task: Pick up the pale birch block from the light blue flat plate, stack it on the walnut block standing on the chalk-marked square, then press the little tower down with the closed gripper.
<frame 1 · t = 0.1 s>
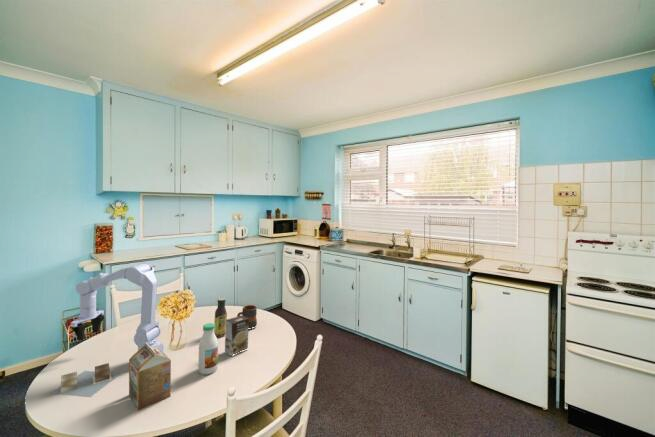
hand: (88, 335, 132), 10 cm above the table, tool pointing down, fingers open, 7 cm apart
walnut block: (102, 378, 117), point 1 cm above the table, touching light blue flat plate
birch block: (69, 387, 111), resting on light blue flat plate
milk carton: (149, 397, 109), on the table
sauce bottle: (220, 335, 159), on the table
milk bottle: (208, 370, 127), on the table
light blue flat plate: (87, 384, 114), on the table
mug: (246, 328, 169), on the table
coffee box: (236, 351, 143), on the table
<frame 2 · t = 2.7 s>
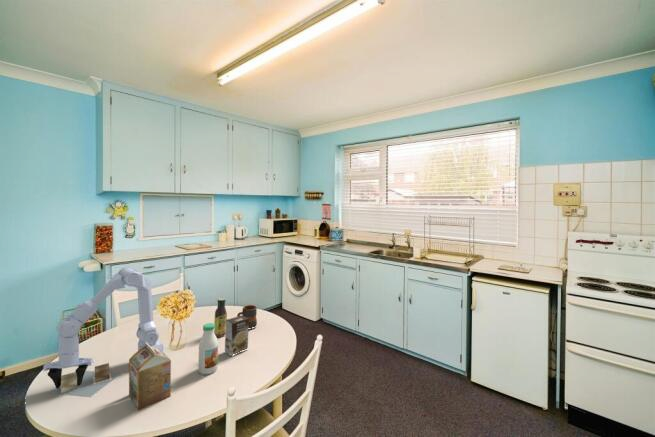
hand: (69, 385, 111), 1 cm above the table, tool pointing down, fingers closed on birch block, 6 cm apart
birch block: (69, 387, 111), resting on light blue flat plate, touching gripper
everything else where it was.
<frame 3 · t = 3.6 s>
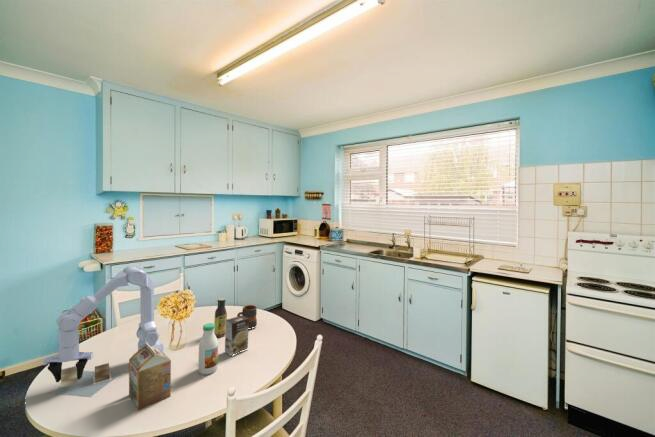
hand: (69, 379, 111), 4 cm above the table, tool pointing down, fingers closed on birch block, 6 cm apart
birch block: (69, 381, 111), point 3 cm above the table, touching gripper
everything else where it was.
when the fingers open (8 cm above the table, at t = 5.2 s): birch block stays where it is, resting on walnut block.
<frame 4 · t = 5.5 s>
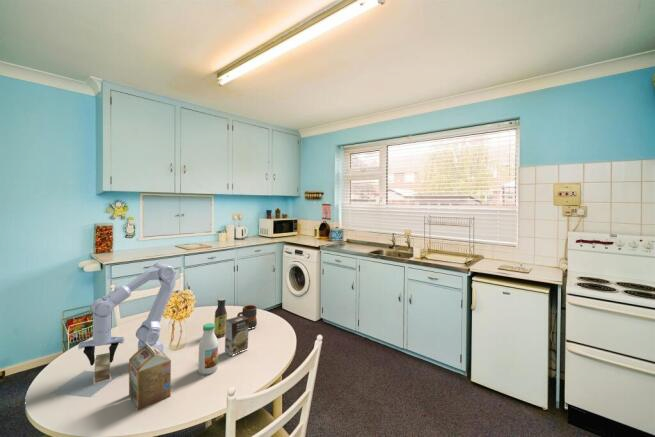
hand: (102, 362, 117), 7 cm above the table, tool pointing down, fingers open, 6 cm apart
walnut block: (102, 378, 117), point 1 cm above the table, touching birch block, light blue flat plate
birch block: (102, 367, 117), point 5 cm above the table, touching gripper, walnut block
everything else where it was.
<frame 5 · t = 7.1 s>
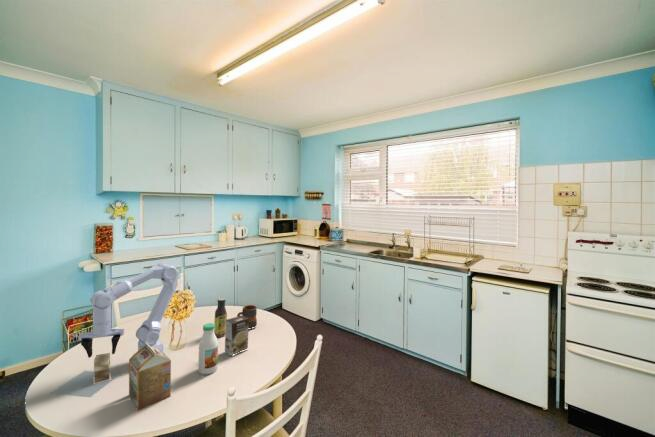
hand: (102, 354, 117), 10 cm above the table, tool pointing down, fingers open, 7 cm apart
birch block: (102, 367, 117), point 5 cm above the table, touching walnut block
everything else where it was.
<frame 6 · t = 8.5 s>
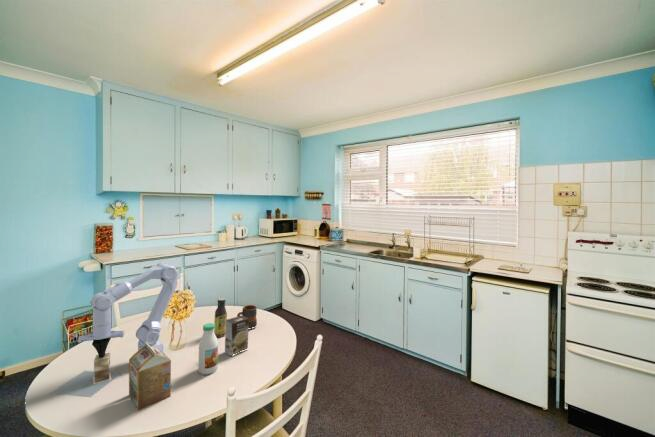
hand: (102, 356, 117), 9 cm above the table, tool pointing down, fingers closed, pressing on birch block
birch block: (102, 367, 117), point 5 cm above the table, touching gripper, walnut block
everything else where it was.
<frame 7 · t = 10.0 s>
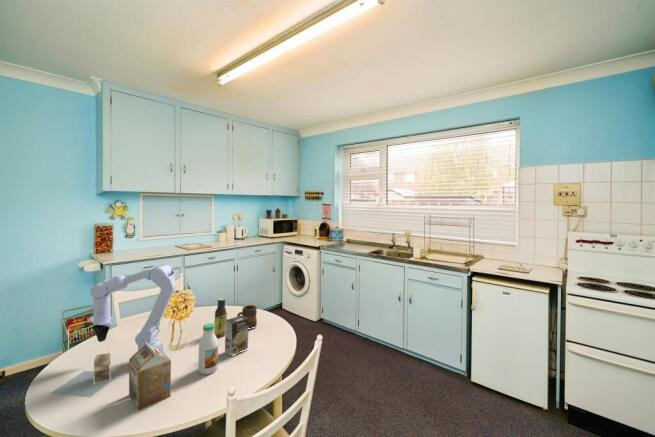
hand: (101, 340, 127), 10 cm above the table, tool pointing down, fingers closed
birch block: (102, 367, 117), point 5 cm above the table, touching walnut block
everything else where it was.
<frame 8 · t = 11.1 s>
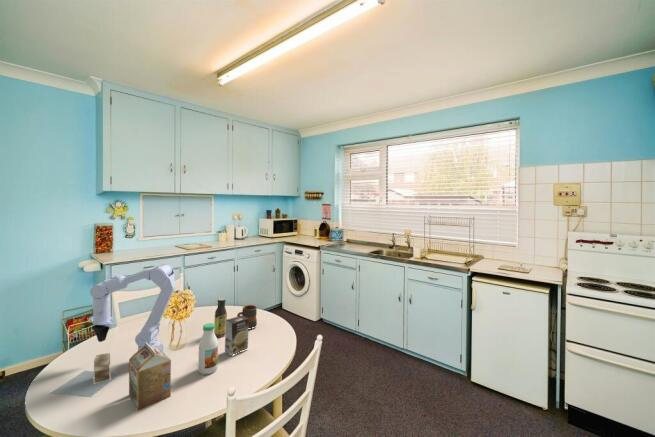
hand: (101, 340, 127), 10 cm above the table, tool pointing down, fingers closed
nothing on the table moved.
at the end: birch block 0.2 cm off-centre on the walnut block, point 4.5 cm above the walnut block's base; birch block tilted 0°; walnut block moved 0.1 cm from its start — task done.
